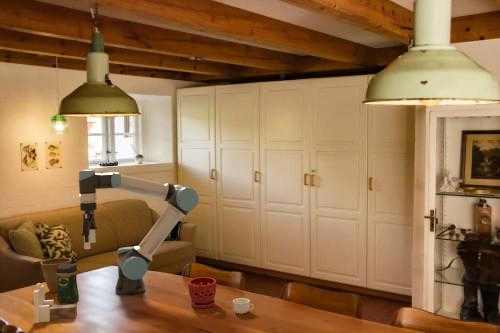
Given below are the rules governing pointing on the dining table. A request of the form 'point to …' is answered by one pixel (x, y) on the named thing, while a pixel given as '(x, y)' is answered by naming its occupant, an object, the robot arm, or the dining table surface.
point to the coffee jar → (67, 283)
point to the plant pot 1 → (52, 272)
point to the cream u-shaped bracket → (41, 304)
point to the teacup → (241, 305)
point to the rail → (63, 312)
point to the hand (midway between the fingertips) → (90, 245)
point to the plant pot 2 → (202, 292)
